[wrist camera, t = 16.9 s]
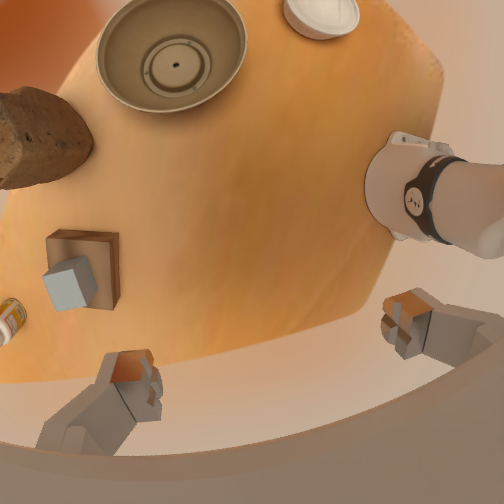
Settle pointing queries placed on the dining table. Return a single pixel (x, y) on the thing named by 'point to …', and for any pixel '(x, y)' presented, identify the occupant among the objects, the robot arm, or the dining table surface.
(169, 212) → the dining table surface
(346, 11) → the ramekin
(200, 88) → the planter bowl
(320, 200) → the dining table surface
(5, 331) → the supplement bottle
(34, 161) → the brown rounded block
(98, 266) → the walnut block
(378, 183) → the robot arm
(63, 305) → the slate cube
